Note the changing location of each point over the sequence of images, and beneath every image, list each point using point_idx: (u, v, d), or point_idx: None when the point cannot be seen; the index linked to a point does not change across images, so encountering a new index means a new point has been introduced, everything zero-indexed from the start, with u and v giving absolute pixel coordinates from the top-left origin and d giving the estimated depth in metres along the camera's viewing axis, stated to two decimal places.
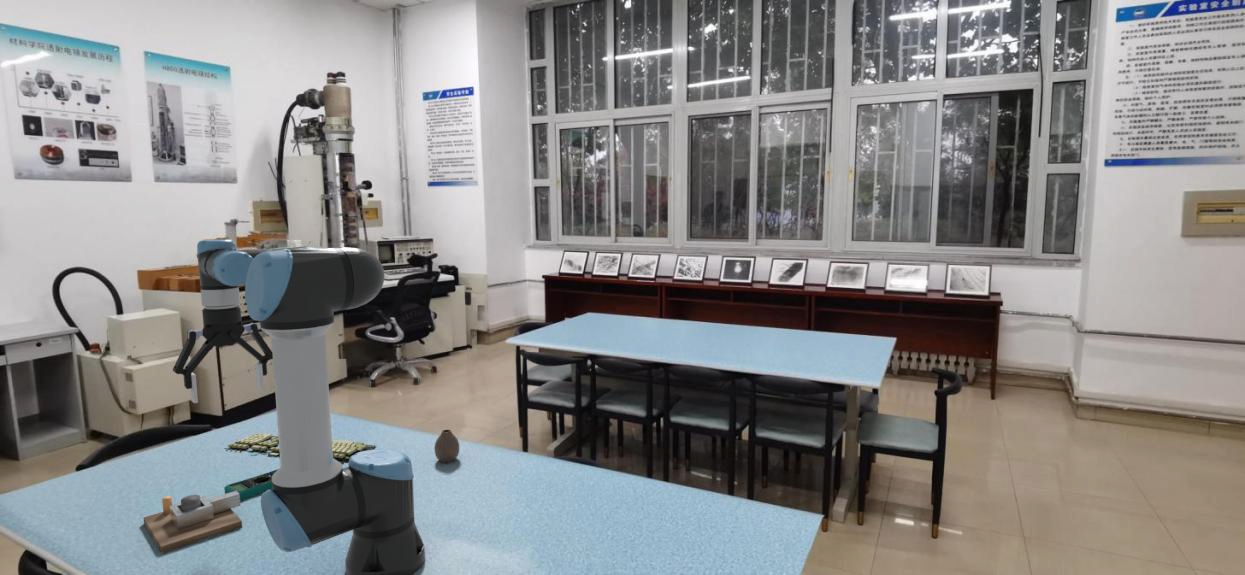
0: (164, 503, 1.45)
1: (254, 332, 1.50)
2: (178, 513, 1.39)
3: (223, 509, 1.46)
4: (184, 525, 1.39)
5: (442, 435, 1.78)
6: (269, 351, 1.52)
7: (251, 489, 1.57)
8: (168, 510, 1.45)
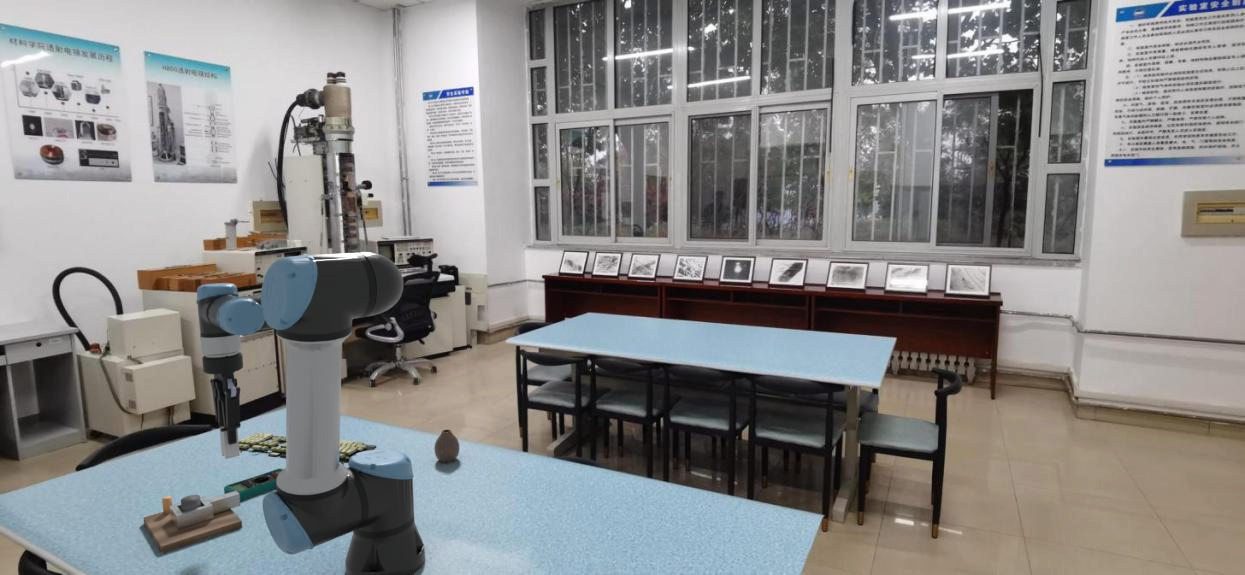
0: (164, 503, 1.45)
1: (225, 396, 1.35)
2: (178, 513, 1.39)
3: (223, 509, 1.46)
4: (184, 525, 1.39)
5: (442, 435, 1.78)
6: (227, 421, 1.36)
7: (251, 489, 1.57)
8: (168, 510, 1.45)
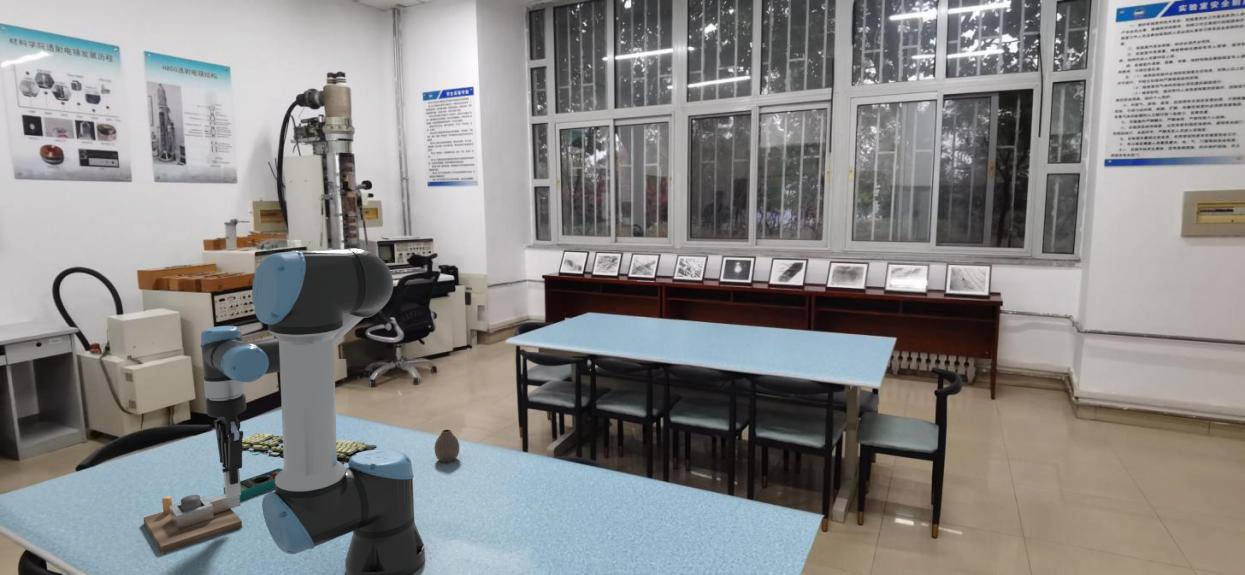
0: (164, 503, 1.45)
1: (228, 439, 1.37)
2: (178, 513, 1.39)
3: (223, 509, 1.46)
4: (184, 525, 1.39)
5: (442, 435, 1.78)
6: (229, 463, 1.38)
7: (251, 489, 1.57)
8: (168, 510, 1.45)
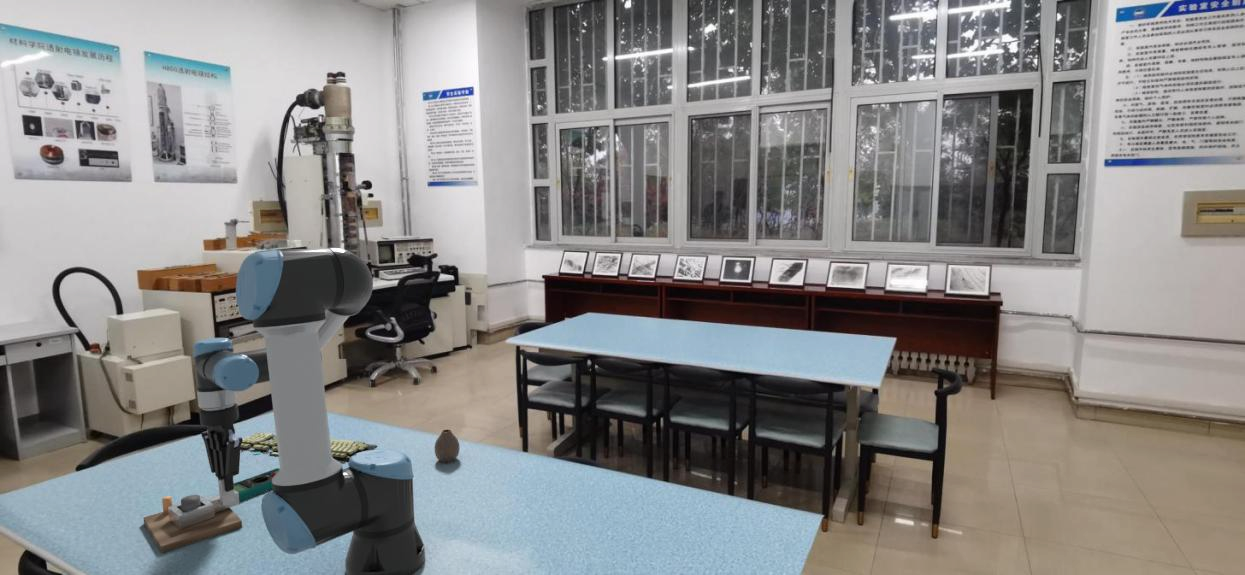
0: (164, 503, 1.45)
1: (228, 446, 1.42)
2: (180, 513, 1.39)
3: (223, 508, 1.47)
4: (186, 525, 1.39)
5: (442, 435, 1.78)
6: (227, 470, 1.43)
7: (252, 489, 1.57)
8: None
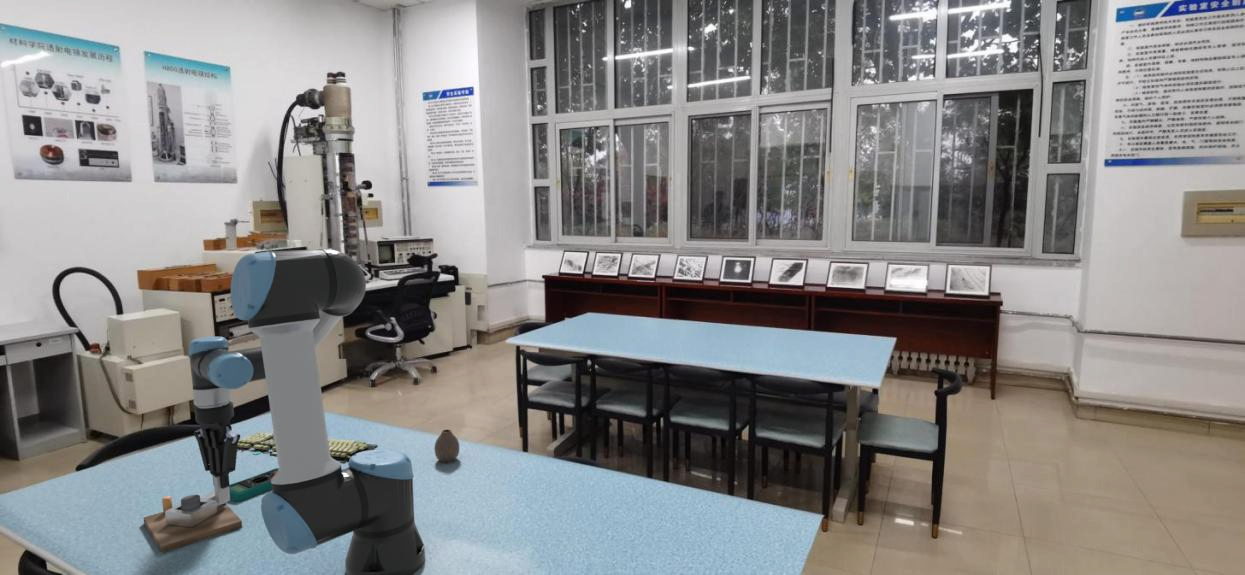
0: (164, 503, 1.45)
1: (225, 443, 1.44)
2: (188, 512, 1.39)
3: (218, 505, 1.48)
4: (196, 523, 1.40)
5: (442, 435, 1.78)
6: (224, 466, 1.45)
7: (252, 489, 1.57)
8: None
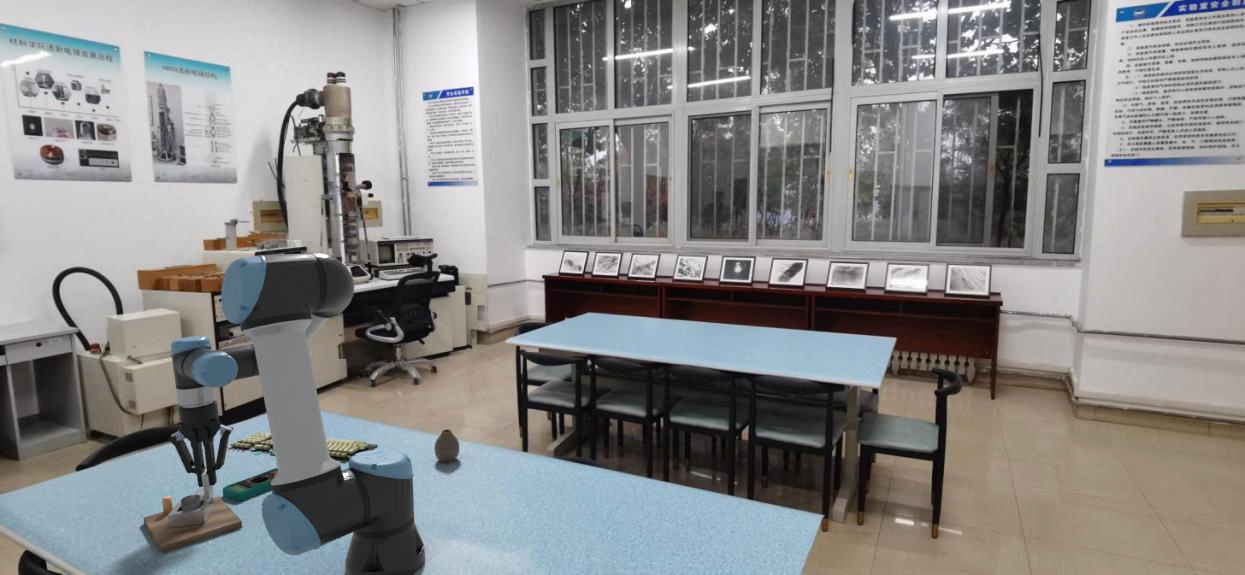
0: (164, 503, 1.45)
1: (222, 437, 1.48)
2: (198, 510, 1.40)
3: None
4: (206, 518, 1.42)
5: (442, 435, 1.78)
6: (220, 461, 1.48)
7: (252, 489, 1.57)
8: (168, 510, 1.45)
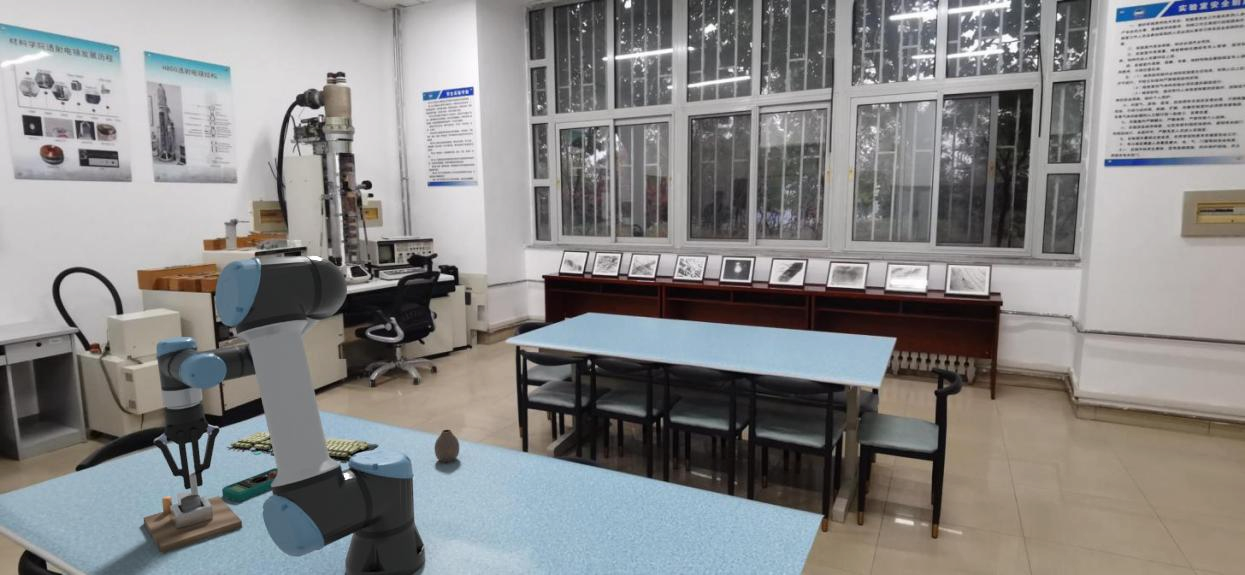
0: (164, 503, 1.45)
1: (211, 436, 1.48)
2: (205, 507, 1.42)
3: None
4: None
5: (442, 435, 1.78)
6: (209, 460, 1.49)
7: (252, 489, 1.57)
8: (168, 510, 1.45)
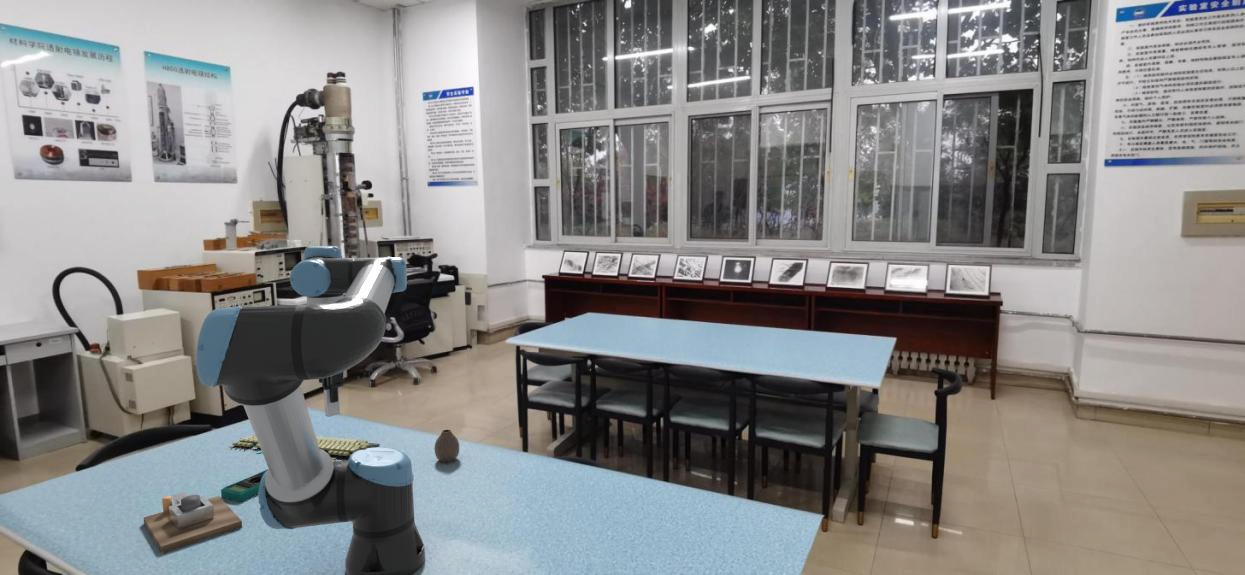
0: (164, 503, 1.45)
1: None
2: (206, 506, 1.42)
3: None
4: None
5: (442, 435, 1.78)
6: (331, 380, 1.40)
7: (253, 488, 1.57)
8: (168, 510, 1.45)
